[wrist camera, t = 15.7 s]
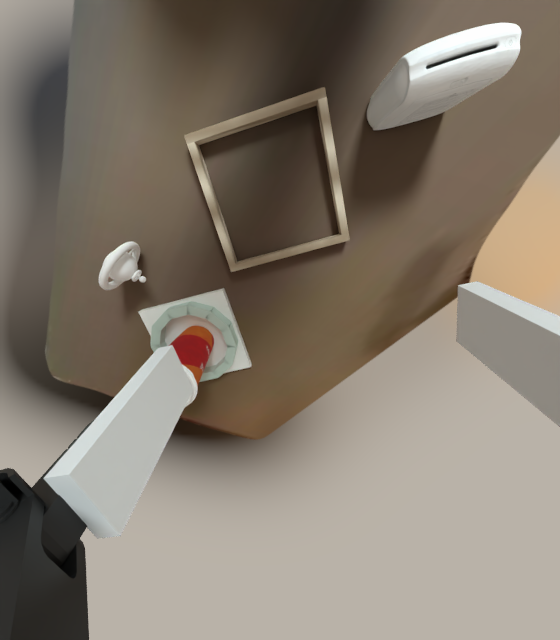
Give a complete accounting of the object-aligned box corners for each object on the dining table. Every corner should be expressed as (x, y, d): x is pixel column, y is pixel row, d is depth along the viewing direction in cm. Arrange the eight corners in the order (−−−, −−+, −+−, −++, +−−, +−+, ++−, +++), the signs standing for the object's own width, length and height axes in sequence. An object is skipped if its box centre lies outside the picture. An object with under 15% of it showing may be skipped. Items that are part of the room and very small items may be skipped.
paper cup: (198, 366, 48) (165, 424, 35) (166, 335, 46) (119, 386, 33) (230, 343, 46) (207, 396, 33) (198, 310, 44) (161, 354, 31)
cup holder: (141, 309, 45) (131, 316, 42) (224, 287, 43) (219, 293, 40) (177, 380, 51) (170, 390, 48) (251, 364, 49) (249, 373, 46)
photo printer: (450, 71, 32) (541, -5, 20) (449, 113, 33) (533, 65, 22) (364, 96, 33) (404, 38, 22) (367, 136, 35) (407, 101, 23)
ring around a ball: (134, 232, 40) (99, 237, 33) (168, 253, 41) (142, 264, 34) (115, 274, 43) (79, 289, 35) (148, 294, 44) (120, 311, 37)
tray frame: (189, 138, 35) (183, 135, 33) (322, 93, 33) (324, 86, 31) (233, 269, 42) (231, 272, 40) (346, 238, 40) (349, 240, 38)
